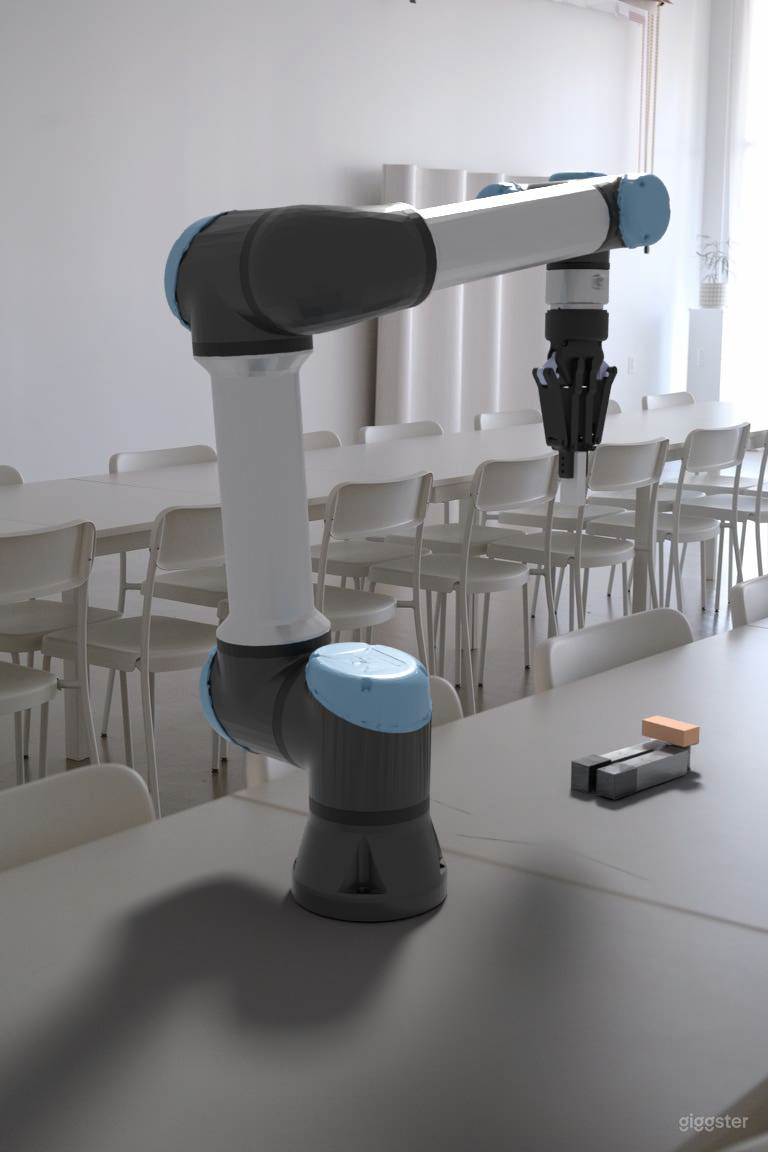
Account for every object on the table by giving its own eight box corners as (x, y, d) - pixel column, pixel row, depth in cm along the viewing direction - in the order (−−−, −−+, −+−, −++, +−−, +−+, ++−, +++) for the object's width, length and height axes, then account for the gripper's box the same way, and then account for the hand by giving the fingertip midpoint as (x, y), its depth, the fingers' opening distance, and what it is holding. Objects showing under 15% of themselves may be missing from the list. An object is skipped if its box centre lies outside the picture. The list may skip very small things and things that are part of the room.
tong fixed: (662, 758, 175) (663, 732, 175) (693, 767, 172) (694, 741, 171) (569, 787, 164) (569, 760, 164) (600, 797, 161) (601, 770, 160)
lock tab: (657, 730, 174) (657, 715, 173) (699, 742, 169) (699, 726, 168) (641, 735, 172) (642, 719, 171) (683, 746, 167) (684, 730, 167)
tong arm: (678, 757, 175) (679, 732, 174) (709, 766, 171) (710, 741, 171) (582, 789, 162) (583, 763, 162) (614, 799, 159) (615, 772, 158)
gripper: (563, 306, 158) (559, 512, 162) (637, 307, 166) (631, 503, 170) (516, 307, 163) (512, 506, 167) (589, 308, 172) (584, 498, 176)
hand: (572, 504), depth 169 cm, fingers closed
